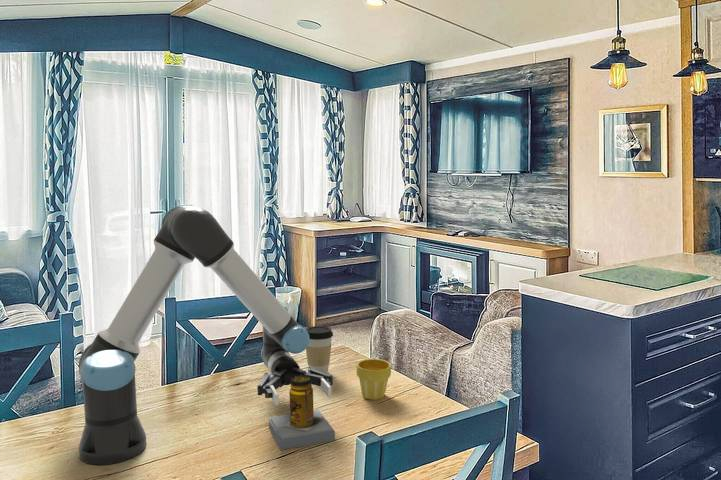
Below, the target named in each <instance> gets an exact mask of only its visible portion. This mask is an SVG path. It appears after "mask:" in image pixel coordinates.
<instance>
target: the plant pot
mask: <svg viewBox="0 0 721 480" xmlns="http://www.w3.org/2000/svg"><path fill="white" fill-rule="evenodd" d="M391 375H392V364H391V363H390V362H389V361H387V360H384V359H380V358H379V359H378V358H367V359H363V360H362V359H361V360H359V361H358V362H357V363H356V376H357V377H358V380H359V384H360V385H359V386H360V389H361V395H362V397H363V398H364V399H367V400H372V401H373V400H375V401H376V400H381V399H383V398H384V397H385V395H386V390H387V386H388V380H389V378H390V377H391Z"/></svg>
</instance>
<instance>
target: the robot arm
mask: <svg viewBox="0 0 721 480" xmlns="http://www.w3.org/2000/svg"><path fill="white" fill-rule="evenodd" d="M153 244H154V250H153V252H152V254H151V256H150V257H149V259H148V261H147V262H146V263H145V265H144V268H143V269H142V271H141V273H140V274H139V276H138V278H137V279H136V281H135V282H134V285H133V286H132V287H131V289H130V291H129V293H128V294H127V296H126V298H125V299H124V301H123V303H122V305H121V306H120V308H119V310H118V311H117V313H116V314H115V316H114V318H113V320H112V321H111V323H110V324H109V326H108V328H106V329H103V330H100V331H98V333H97V335H96V336H95V338H94V339H93V341H92V342H91V343H90V344H89V345H87V346H86V348H84V350H83V352H82V353H81V355H80V356H79V357H80V358H79V360H78V373H79V376H80V381H81V385H82V394H83V395H82V396H83V408H84V427H83V430H82V434H81V438H80V441H79V445H78V455H79V456H80V457H79V459H80V458H81V459H80V460H81V461H82V460H83V461H84V462H83V461H82V462H83V463H86V462H87V463H86V464H89V463H90V465H95V464H105V465H111V463H113V464H117V462H118V463H120V462H125V461H127V460H130V459H132V458H135V457H136V456H138V455H139V454H140V453H143V451H144V450H145V448H146V447H147V434H146V432H145V429H144V427H143V424H142V422H141V421H140V418H139V416H138V409H137V405H138V404H137V402H138V401H137V388H136V387H137V386H136V364H135V361H136V360H137V357H138V356H139V354H140V353H141V348H140V344H139V343H140V341H141V340H142V337H144V334H145V333H146V331H147V330H148V328H149V326H150V325H151V322H153V319H154V317H155V316H156V314H157V312H158V310H159V308H160V307H161V305H162V303H163V302H164V300H165V298H166V297H167V295H168V293H169V291H170V290H171V288H172V286H173V285H174V283H175V281H176V279H177V278H178V276H179V274H180V273H181V271H182V270H183V268H184V266H185V265H186V264H190V263H193V262H194V260H195V259H197V260H198V261H199V262H200V263H201V265H202V266H203V267H204V268H209V269H211V270H212V272H214V274H216V275H217V277H219V279H220V280H221V281H222V282H223V283H224V285H226V287H227V288H228V289H229V290H230V291H231V292H232V293H233V294H234V295H235V296H236V297H237V299H238V300H239V301H240V302H241V303H242V304H243V305H244V307H245V308H246V309H248V311H249V312H250V313H251V314H252V316H254V317H255V318H256V319H257V321H258V322H259V323H260V324H261V325H262V340H263V341H262V349H261V351H260V356H261V361H262V362H263V365H264V366H265V367H266V368H267V370H268V372H270V373H268V372H264V373H263V377H262V378H261V380H260V381H259V382H258V384H257V396H263V394H264V398H265V399H271V400H272V402H273V403H274V405H275V406H279V405H280V404H279V403H280V402H279V397H280V396H279V393H278V391H277V390H278V389H279V388H283V387H285V386H291V379H292V378H294V377H296V376H307V377H309V378H311V384H312V386H317V387H320V389H321V391H323V393H324V394H325V395H326V396H327V398H332V386H333V384H334V383H333V380H334V379H333V375H332V374H329V373H328V374H327V373H324V372H321V371H318V370H315V369H313V368H312V367H309V366H308V367H307V370H304V369H303V368H302V369H301V368H300V365H299V364H298V363H297V362H296V360H295V359H294V357H293V356H292V355H295V354H296V355H298V354H300V353H303V352H304V351H306V348H307V346H308V344H309V340H310V338H309V334H308V332H307V331H306V330H305V329H306V328H304V327H303V326H301V325H300V324H299V323H298V322H297V320H295V318H294V317H293V316H292V315H291V314H290V313H289V312H288V307H287V306H285V305H283V304H282V303H281V302H280V301H279V299H277V297H276V296H275V295H274V294H273V293H272V292H271V291H270V289H269V288H268V287H267V286H266V285H265V284H264V282H263V281H262V280H261V279H260V278H259V276H258V275H257V274H256V273H255V272H254V271H253V269H251V267H250V266H249V264H247V262H246V261H245V260H244V259H243V258H242V257H241V255H240V254H239V253H238V252H237V251H236V250H235V248H234V246H235V242H234V241H233V240H232V239H231V238H230V237H229V235H228V234H227V232H226V231H225V230H224V228H223V227H222V226H221V225H220V222H218V220H217V219H216V218H215V216H214V215H213V214H212V213H210V212H209V211H208V210H206V209H204V208H202V207H198V206H196V205H194V204H193V205H192V204H188V203H186V204H179V205H175V206H174V207H172V208H171V209H169V210H167V212H166V213H165V214H164V216H163V218H162V221H161V226H160V228H159V231H158V232H157V234H156V236H155V237H154V239H153ZM290 353H291V354H292V355H291V354H290Z"/></svg>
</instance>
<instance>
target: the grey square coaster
mask: <svg viewBox="0 0 721 480" xmlns="http://www.w3.org/2000/svg"><path fill="white" fill-rule="evenodd" d="M313 413H314V416H317V417H324V418H323V419H322V420H321V421H320V422H318V423H317V424H316V425H315V426H314V427H312V428H311V429H310V430H309V431H305V430H299V429H294V428H290V427H287V426H283V425H285V424H287V423H288V422H289V421H290V413H289V414H283V415H276V416H271V417H270V418H268V429H269V430H270V432H271V433H270V434H271V435H272V436H273V438H274V441H275V442H276V444H277V446H278V448H279V450H280V451H283V450H288V449H289V450H290V449H294V448H300V447H305V446H309V445H316V444H322V443H327V442H333V441H335V440H336V434H335V433H336V431H335V430H334V428H333V427H332V425H331V424H330V423H329V421H328V420H327V419H326V417H325V416H324V415H323V413H322V412H321V411H320V409H313Z"/></svg>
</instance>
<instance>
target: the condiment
mask: <svg viewBox="0 0 721 480" xmlns="http://www.w3.org/2000/svg"><path fill="white" fill-rule="evenodd" d="M312 386H313V385H312V384H311V378H309V377H307V376H296V377H294V378H292V379H291V384H290V389H289V391H288V392H289V414H290V421H289V422H288V423H287V424H285V425H283V426H287V427H290V428H294V429H299V430H305V431H309V430H310V429H311V428H312V427H314V426H315V425H316V424H317V423H318V422H320V421H321V420H322V419H323V418H324V417H325V416H324V417H317V416H314V413H313V411H314V389H313V387H312Z"/></svg>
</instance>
